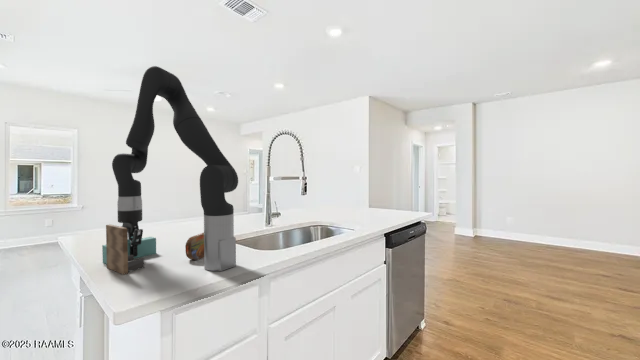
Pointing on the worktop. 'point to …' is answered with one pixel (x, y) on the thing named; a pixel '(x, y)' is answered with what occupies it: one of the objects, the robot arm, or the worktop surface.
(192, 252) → the tin
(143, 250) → the rail
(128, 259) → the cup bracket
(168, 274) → the worktop surface
